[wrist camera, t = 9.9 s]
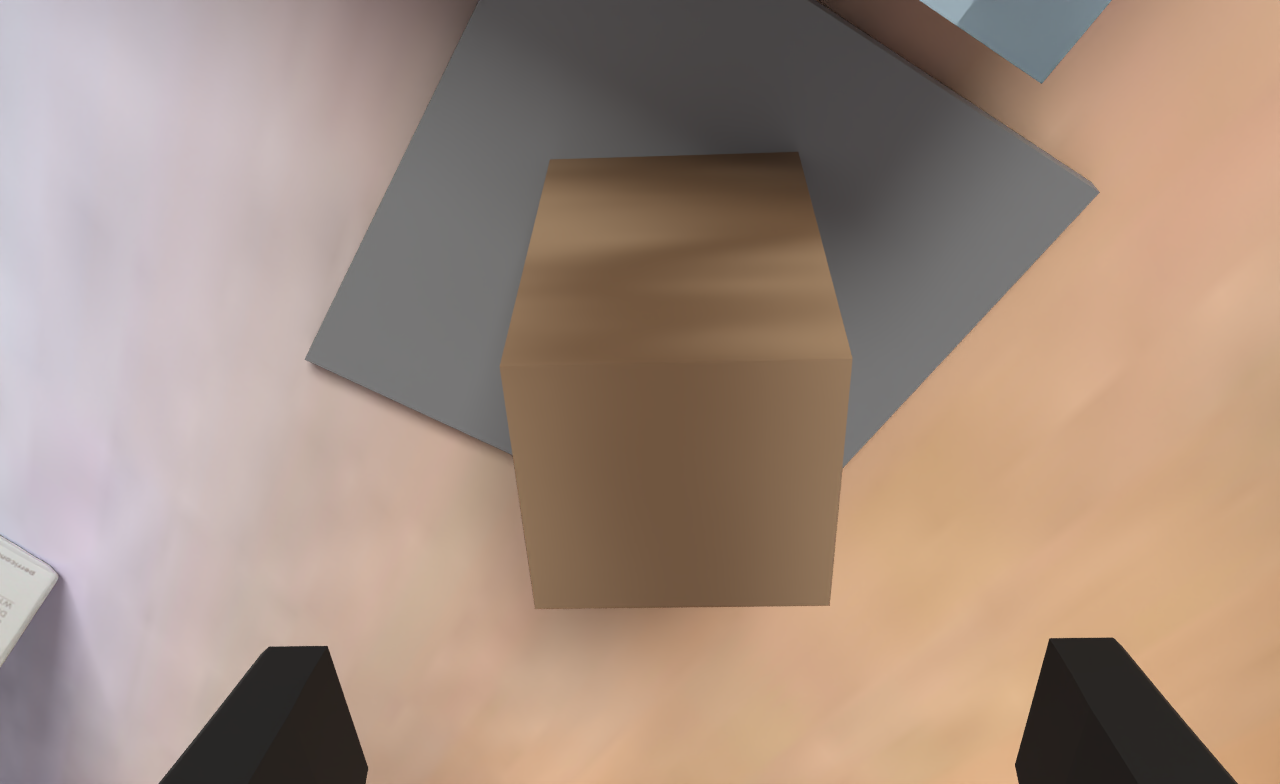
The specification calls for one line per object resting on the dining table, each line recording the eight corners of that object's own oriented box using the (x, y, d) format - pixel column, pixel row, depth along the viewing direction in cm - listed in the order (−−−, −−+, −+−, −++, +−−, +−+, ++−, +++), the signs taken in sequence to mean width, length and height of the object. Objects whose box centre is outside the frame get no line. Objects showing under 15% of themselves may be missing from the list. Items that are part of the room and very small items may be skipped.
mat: (1091, 182, 17) (1099, 192, 17) (750, 552, 22) (751, 565, 22) (560, -168, 14) (558, -164, 14) (311, 347, 19) (304, 359, 19)
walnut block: (797, 151, 16) (852, 358, 12) (788, 359, 19) (829, 605, 14) (550, 159, 17) (499, 366, 12) (570, 364, 19) (534, 608, 14)
